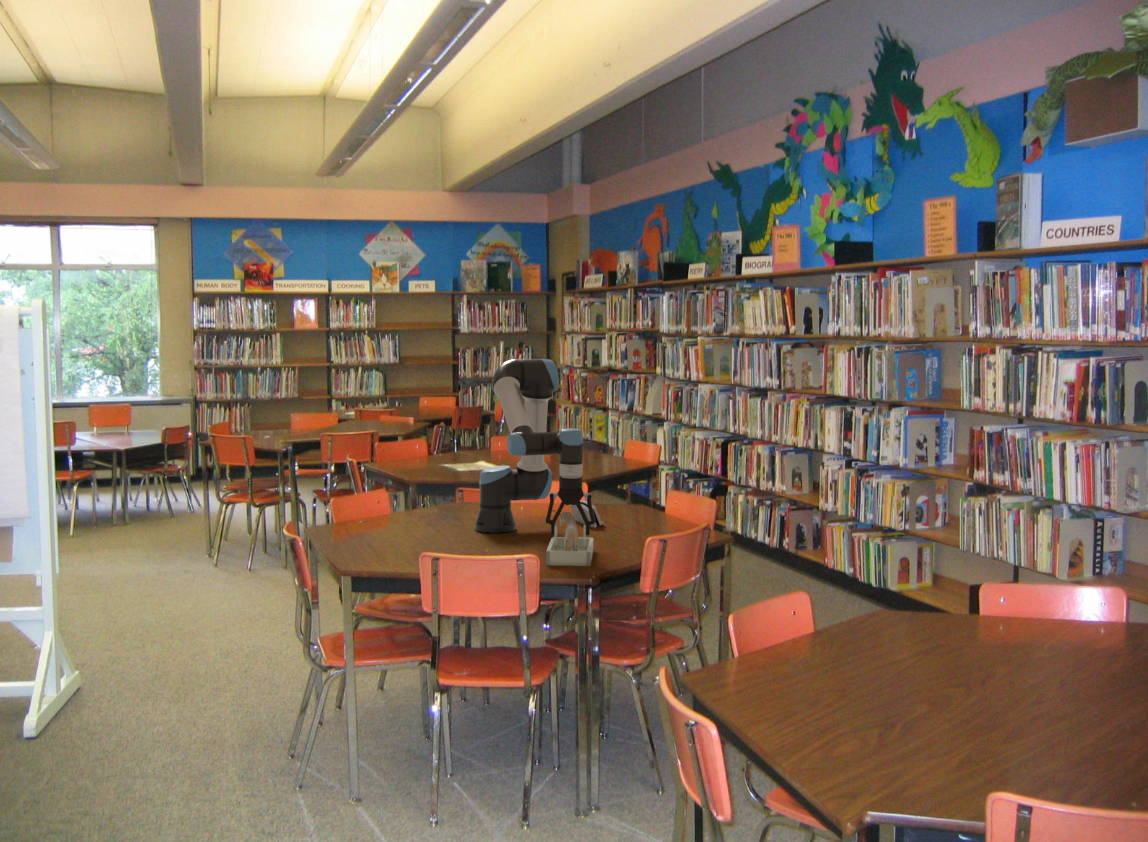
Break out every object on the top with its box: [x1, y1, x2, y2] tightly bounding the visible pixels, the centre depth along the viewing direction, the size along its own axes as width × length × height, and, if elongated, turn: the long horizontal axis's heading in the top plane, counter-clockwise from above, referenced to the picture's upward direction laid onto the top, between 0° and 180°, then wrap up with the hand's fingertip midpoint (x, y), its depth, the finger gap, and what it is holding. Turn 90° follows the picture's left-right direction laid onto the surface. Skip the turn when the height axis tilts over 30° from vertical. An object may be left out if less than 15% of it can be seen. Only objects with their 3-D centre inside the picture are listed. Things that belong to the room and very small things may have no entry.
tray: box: [545, 536, 594, 567], centre depth 317 cm, size 14×22×4 cm, turn 176°
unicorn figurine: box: [552, 509, 579, 551], centre depth 318 cm, size 7×20×13 cm, turn 16°
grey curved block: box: [570, 500, 606, 529], centre depth 374 cm, size 17×5×10 cm, turn 28°
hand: (570, 544), depth 318 cm, fingers open, 9 cm apart
